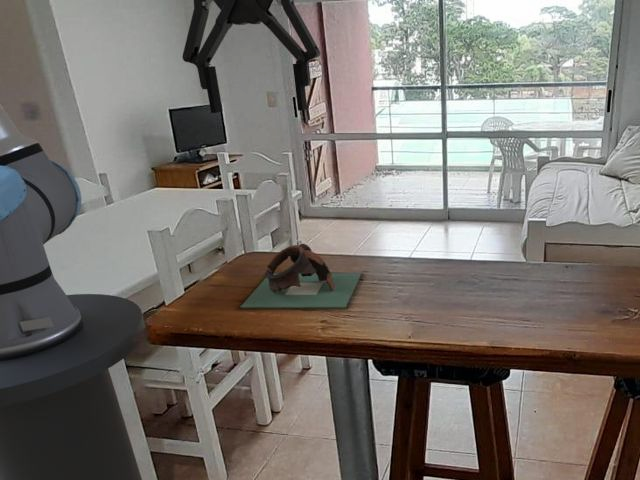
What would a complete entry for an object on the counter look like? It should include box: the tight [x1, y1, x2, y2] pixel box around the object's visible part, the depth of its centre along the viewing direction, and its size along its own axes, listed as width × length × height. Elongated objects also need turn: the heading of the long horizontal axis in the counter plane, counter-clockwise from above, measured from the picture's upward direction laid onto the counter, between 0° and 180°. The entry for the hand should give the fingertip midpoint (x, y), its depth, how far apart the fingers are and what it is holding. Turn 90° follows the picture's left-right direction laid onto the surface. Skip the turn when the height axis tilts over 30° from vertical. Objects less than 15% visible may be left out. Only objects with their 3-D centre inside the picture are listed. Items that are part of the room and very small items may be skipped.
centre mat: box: [240, 272, 362, 310], centre depth 92 cm, size 16×14×1 cm
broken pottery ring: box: [264, 243, 334, 293], centre depth 91 cm, size 12×10×8 cm
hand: (259, 111), depth 88 cm, fingers open, 13 cm apart
